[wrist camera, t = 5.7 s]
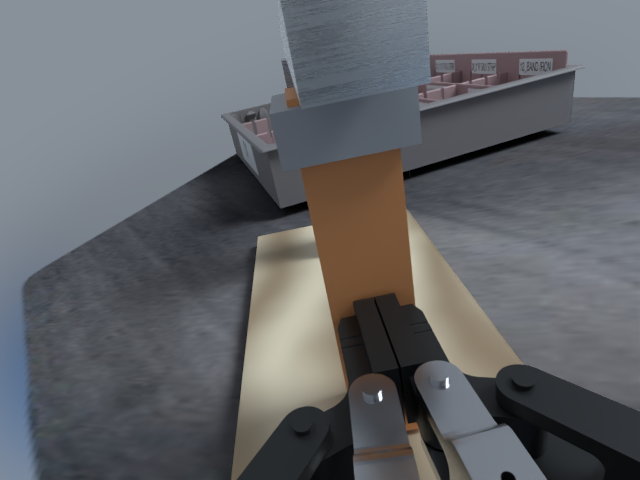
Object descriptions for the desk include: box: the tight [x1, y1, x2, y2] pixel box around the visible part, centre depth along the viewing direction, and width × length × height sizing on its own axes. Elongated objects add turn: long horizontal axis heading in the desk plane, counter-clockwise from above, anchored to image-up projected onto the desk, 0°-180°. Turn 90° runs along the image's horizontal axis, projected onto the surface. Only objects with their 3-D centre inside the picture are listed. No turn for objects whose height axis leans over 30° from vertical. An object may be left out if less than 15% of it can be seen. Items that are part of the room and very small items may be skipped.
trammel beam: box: [278, 0, 431, 109], centre depth 22 cm, size 3×27×17 cm, turn 5°
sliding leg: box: [269, 86, 422, 431], centre depth 16 cm, size 4×4×14 cm
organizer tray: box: [221, 50, 584, 208], centre depth 59 cm, size 32×40×10 cm
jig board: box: [231, 209, 523, 480], centre depth 25 cm, size 14×30×1 cm, turn 5°
